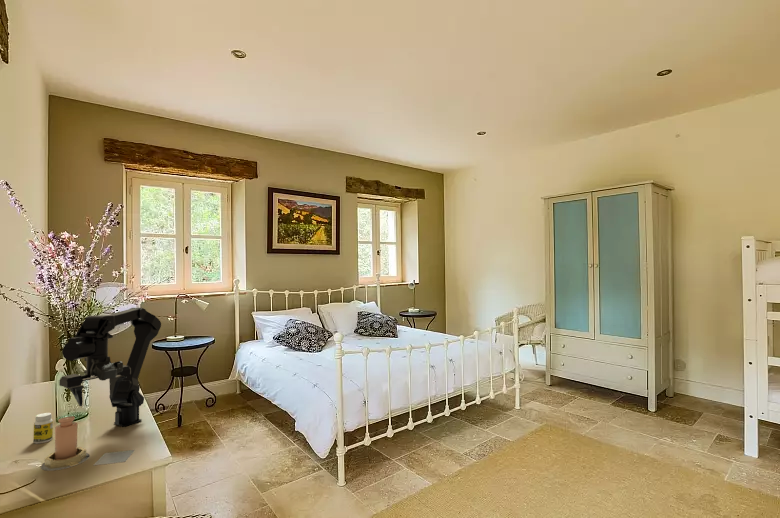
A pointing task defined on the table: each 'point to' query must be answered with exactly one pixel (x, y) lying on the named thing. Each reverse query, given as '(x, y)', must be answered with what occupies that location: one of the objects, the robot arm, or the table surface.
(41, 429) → the supplement bottle
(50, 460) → the holder
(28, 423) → the table surface
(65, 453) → the vase
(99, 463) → the tile
